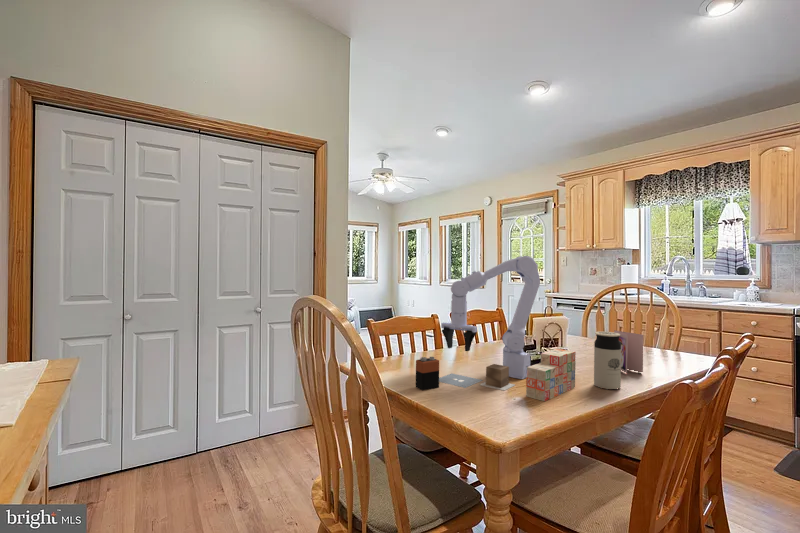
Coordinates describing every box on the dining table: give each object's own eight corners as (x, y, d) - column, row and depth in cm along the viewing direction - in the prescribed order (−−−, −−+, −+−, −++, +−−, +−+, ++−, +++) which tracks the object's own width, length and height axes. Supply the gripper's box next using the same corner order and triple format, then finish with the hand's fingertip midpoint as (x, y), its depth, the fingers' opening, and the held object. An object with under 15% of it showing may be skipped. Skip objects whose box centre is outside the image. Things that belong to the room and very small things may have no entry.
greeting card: (611, 367, 161) (612, 330, 161) (631, 368, 160) (631, 330, 160) (624, 375, 150) (625, 335, 150) (645, 376, 149) (646, 335, 149)
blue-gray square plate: (483, 380, 141) (483, 380, 141) (465, 388, 132) (465, 387, 132) (451, 373, 149) (451, 373, 149) (432, 380, 140) (432, 380, 140)
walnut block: (508, 384, 136) (508, 366, 135) (501, 388, 131) (501, 369, 131) (493, 381, 139) (493, 363, 139) (485, 384, 135) (486, 366, 135)
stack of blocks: (545, 402, 120) (545, 360, 119) (525, 397, 124) (526, 357, 124) (575, 387, 134) (575, 350, 134) (557, 383, 139) (557, 347, 139)
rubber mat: (515, 385, 135) (515, 384, 135) (504, 391, 129) (504, 390, 129) (491, 380, 141) (491, 379, 141) (479, 385, 135) (479, 384, 135)
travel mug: (590, 382, 140) (591, 330, 140) (614, 383, 139) (615, 331, 139) (598, 389, 132) (599, 334, 132) (624, 390, 131) (625, 335, 131)
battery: (415, 387, 132) (415, 357, 132) (431, 384, 136) (432, 354, 136) (422, 391, 128) (422, 359, 128) (439, 387, 132) (439, 357, 132)
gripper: (436, 312, 152) (436, 348, 152) (470, 315, 142) (469, 354, 142) (447, 310, 157) (446, 345, 157) (480, 314, 148) (479, 351, 148)
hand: (458, 349), depth 150 cm, fingers open, 7 cm apart
